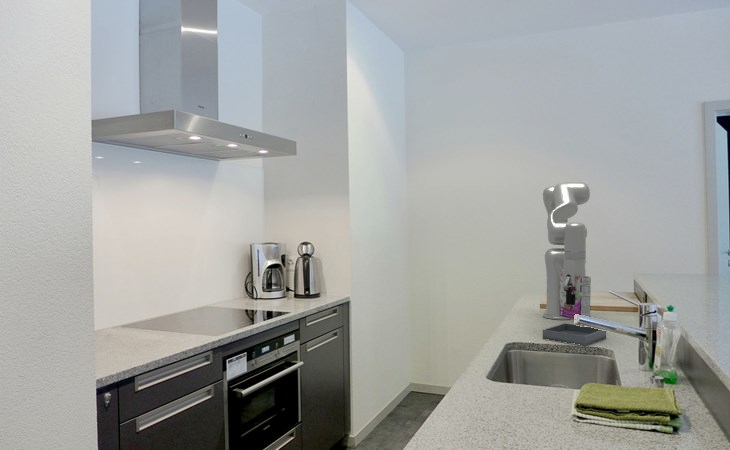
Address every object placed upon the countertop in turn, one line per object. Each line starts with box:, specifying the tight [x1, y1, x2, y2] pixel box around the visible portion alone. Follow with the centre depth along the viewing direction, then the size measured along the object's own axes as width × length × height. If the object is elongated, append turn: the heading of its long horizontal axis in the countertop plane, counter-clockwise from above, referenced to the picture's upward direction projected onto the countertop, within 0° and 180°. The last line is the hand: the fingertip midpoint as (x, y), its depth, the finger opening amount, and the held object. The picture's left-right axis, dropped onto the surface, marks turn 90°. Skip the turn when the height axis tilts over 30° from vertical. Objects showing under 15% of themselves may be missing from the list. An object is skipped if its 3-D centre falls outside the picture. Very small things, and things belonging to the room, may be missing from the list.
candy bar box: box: [560, 274, 592, 320], centre depth 208 cm, size 11×5×16 cm, turn 24°
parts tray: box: [542, 322, 607, 347], centre depth 208 cm, size 18×16×4 cm
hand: (574, 303), depth 208 cm, fingers closed on candy bar box, 6 cm apart
